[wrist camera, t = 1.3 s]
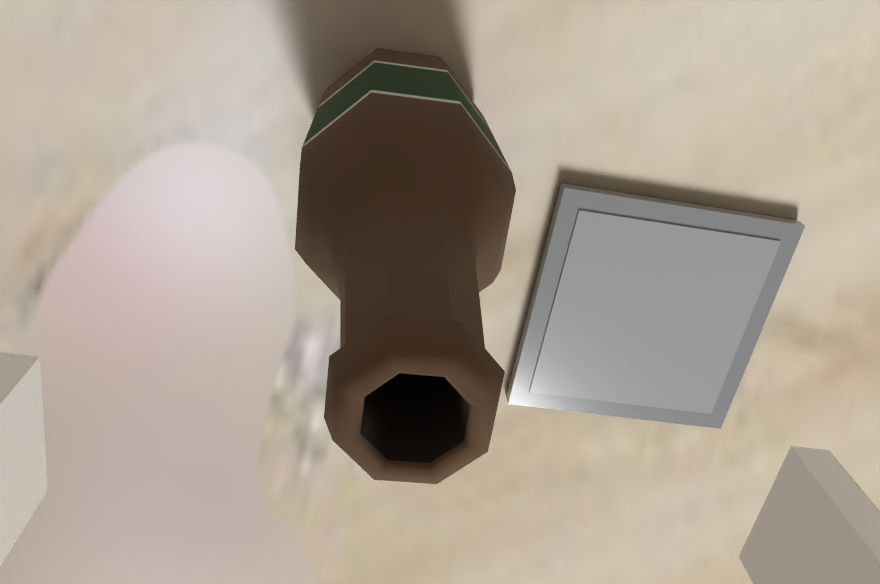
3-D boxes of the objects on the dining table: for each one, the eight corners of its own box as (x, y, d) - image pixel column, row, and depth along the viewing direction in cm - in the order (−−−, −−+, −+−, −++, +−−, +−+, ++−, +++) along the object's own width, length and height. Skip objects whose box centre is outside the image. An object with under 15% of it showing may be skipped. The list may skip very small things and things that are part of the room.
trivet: (506, 395, 43) (508, 404, 42) (561, 183, 37) (565, 188, 37) (715, 420, 45) (721, 429, 44) (797, 220, 39) (806, 226, 38)
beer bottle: (366, 8, 33) (323, 154, 12) (510, 96, 35) (698, 354, 14) (290, 156, 36) (144, 492, 15) (428, 229, 38) (480, 617, 17)
